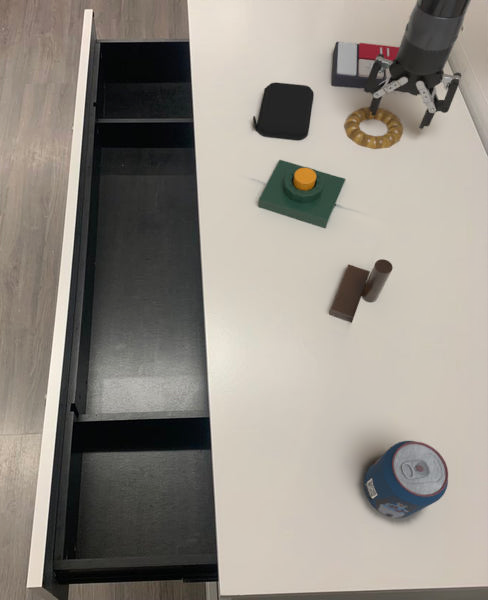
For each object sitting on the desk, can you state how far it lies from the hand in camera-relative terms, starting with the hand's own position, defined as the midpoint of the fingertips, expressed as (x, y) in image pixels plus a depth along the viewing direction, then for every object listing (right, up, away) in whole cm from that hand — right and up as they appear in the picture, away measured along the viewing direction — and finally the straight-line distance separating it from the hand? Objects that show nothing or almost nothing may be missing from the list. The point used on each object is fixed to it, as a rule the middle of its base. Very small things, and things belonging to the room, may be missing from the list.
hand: (397, 119), depth 95 cm
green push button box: (-18, -14, -2) cm, 23 cm away
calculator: (-1, +13, +13) cm, 19 cm away
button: (-18, -13, -6) cm, 23 cm away
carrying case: (-19, +3, +8) cm, 21 cm away
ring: (-3, -1, +4) cm, 5 cm away
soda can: (-12, -57, -28) cm, 64 cm away
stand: (-10, -33, -14) cm, 37 cm away
